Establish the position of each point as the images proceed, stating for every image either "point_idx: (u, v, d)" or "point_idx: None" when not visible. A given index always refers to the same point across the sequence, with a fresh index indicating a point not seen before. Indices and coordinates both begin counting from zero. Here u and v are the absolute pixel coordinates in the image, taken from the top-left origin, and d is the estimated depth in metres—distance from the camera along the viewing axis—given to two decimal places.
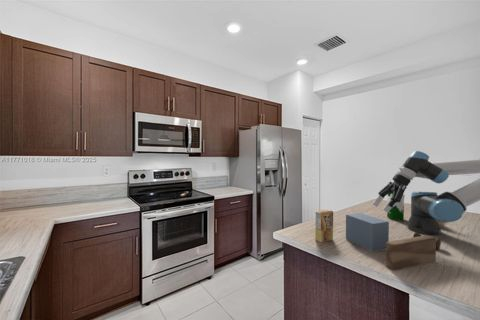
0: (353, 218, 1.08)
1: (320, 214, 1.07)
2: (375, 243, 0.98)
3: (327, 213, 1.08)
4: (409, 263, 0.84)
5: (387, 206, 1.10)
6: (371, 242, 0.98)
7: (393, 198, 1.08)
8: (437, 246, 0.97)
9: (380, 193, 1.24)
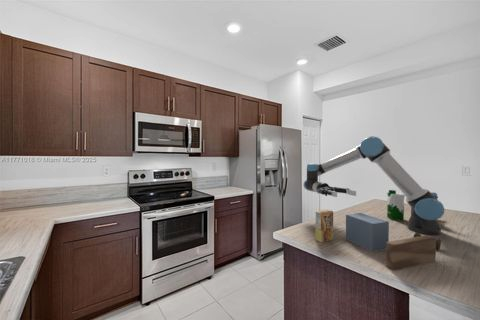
0: (353, 218, 1.08)
1: (320, 214, 1.07)
2: (375, 243, 0.98)
3: (327, 213, 1.08)
4: (409, 263, 0.84)
5: (332, 194, 1.19)
6: (371, 242, 0.98)
7: (325, 194, 1.24)
8: (437, 246, 0.97)
9: None
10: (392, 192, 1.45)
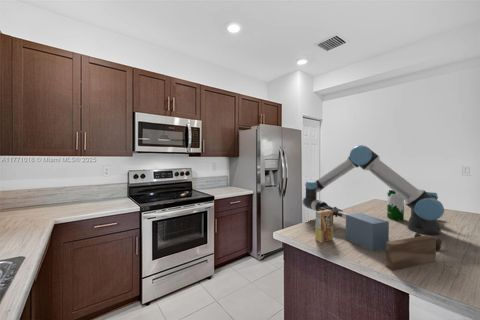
0: (353, 218, 1.08)
1: (320, 214, 1.07)
2: (375, 243, 0.98)
3: (327, 213, 1.08)
4: (409, 263, 0.84)
5: (342, 216, 1.20)
6: (371, 242, 0.98)
7: (335, 215, 1.24)
8: (438, 246, 0.97)
9: None
10: (392, 192, 1.45)
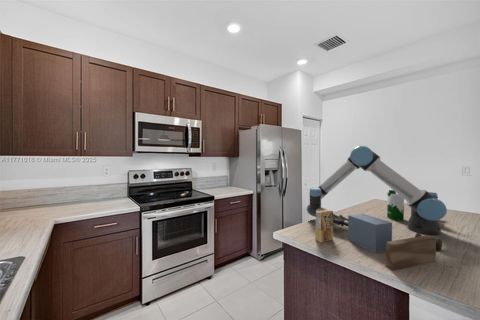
0: (355, 219, 1.06)
1: (320, 214, 1.07)
2: (378, 244, 0.96)
3: (327, 213, 1.08)
4: (409, 263, 0.84)
5: None
6: (374, 243, 0.96)
7: (341, 224, 1.19)
8: (440, 247, 0.96)
9: None
10: (392, 192, 1.45)
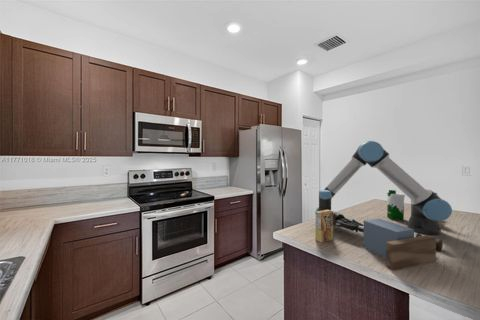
0: (372, 225, 0.97)
1: (320, 214, 1.07)
2: None
3: (327, 213, 1.08)
4: (409, 263, 0.84)
5: None
6: None
7: None
8: (440, 247, 0.96)
9: None
10: (392, 192, 1.45)
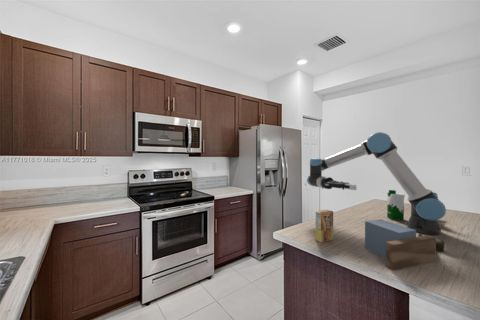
0: (374, 225, 0.96)
1: (320, 214, 1.07)
2: None
3: (327, 213, 1.08)
4: (409, 263, 0.84)
5: (350, 188, 1.15)
6: None
7: (342, 188, 1.19)
8: (443, 248, 0.95)
9: None
10: (392, 192, 1.45)
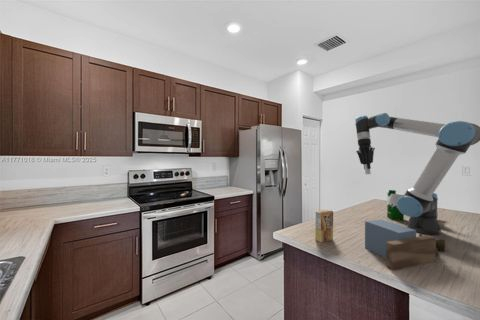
0: (374, 225, 0.96)
1: (320, 214, 1.07)
2: None
3: (327, 213, 1.08)
4: (409, 263, 0.84)
5: (367, 170, 1.37)
6: None
7: (367, 162, 1.36)
8: (444, 248, 0.95)
9: (363, 162, 1.40)
10: (392, 192, 1.45)
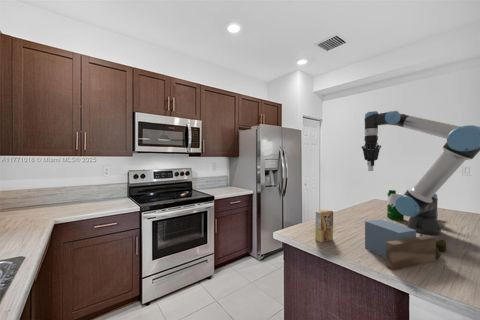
0: (374, 225, 0.96)
1: (320, 214, 1.07)
2: None
3: (327, 213, 1.08)
4: (409, 263, 0.84)
5: (371, 167, 1.38)
6: None
7: (372, 159, 1.37)
8: (445, 248, 0.95)
9: (367, 159, 1.40)
10: (392, 192, 1.45)
